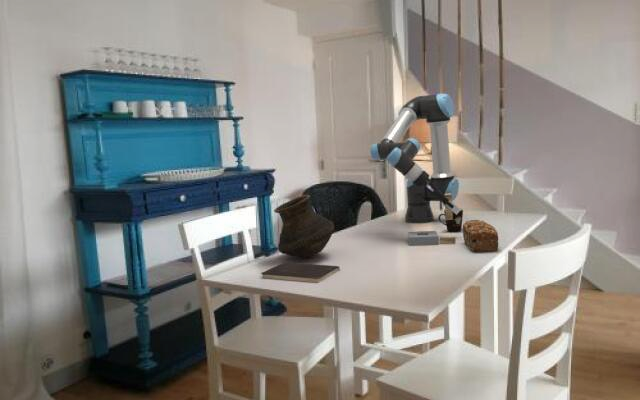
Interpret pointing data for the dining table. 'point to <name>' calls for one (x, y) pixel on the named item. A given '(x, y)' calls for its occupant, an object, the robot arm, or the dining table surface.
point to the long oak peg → (447, 211)
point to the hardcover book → (300, 272)
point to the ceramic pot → (302, 229)
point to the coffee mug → (454, 222)
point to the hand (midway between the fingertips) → (457, 211)
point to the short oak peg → (447, 240)
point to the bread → (480, 236)
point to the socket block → (423, 238)
